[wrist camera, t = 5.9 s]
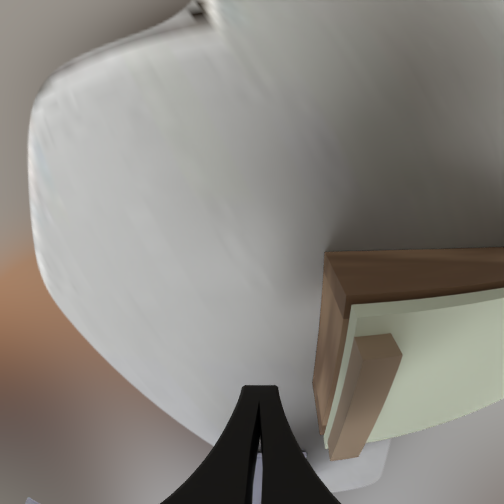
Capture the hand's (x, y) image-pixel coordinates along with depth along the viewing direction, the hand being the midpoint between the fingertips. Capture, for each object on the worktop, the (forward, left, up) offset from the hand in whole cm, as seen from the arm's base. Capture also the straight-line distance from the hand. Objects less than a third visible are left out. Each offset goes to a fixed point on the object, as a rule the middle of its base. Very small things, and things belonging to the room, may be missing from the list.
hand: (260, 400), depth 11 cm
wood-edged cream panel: (0, -11, -1) cm, 11 cm away
